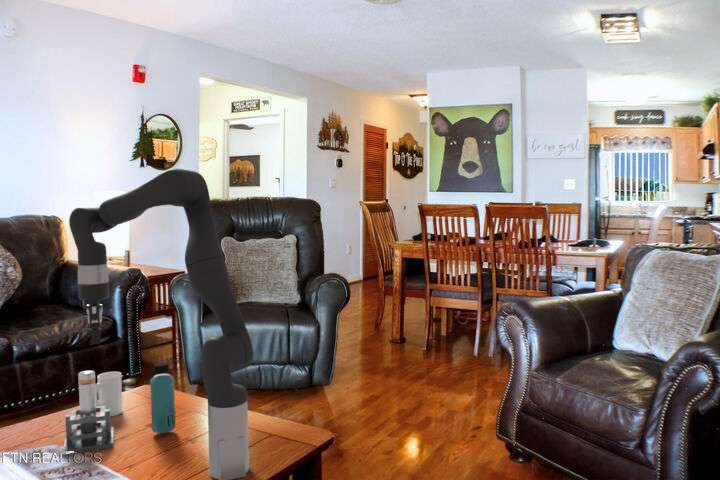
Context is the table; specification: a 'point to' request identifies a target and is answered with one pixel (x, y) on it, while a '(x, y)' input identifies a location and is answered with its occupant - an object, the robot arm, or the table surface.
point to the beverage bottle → (162, 400)
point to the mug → (109, 392)
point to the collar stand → (74, 437)
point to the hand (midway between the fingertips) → (96, 340)
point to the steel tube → (87, 401)
